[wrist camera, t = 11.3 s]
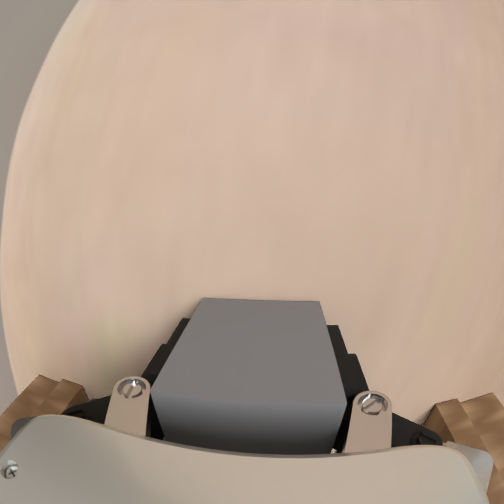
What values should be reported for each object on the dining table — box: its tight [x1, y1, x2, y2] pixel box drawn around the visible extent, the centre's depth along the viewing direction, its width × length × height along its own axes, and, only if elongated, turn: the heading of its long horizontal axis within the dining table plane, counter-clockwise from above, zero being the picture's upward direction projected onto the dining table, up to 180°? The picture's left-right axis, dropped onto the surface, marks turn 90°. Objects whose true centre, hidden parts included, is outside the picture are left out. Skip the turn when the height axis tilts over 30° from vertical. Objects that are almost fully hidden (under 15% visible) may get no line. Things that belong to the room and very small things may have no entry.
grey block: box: [150, 298, 347, 455], centre depth 11 cm, size 5×13×6 cm, turn 1°
